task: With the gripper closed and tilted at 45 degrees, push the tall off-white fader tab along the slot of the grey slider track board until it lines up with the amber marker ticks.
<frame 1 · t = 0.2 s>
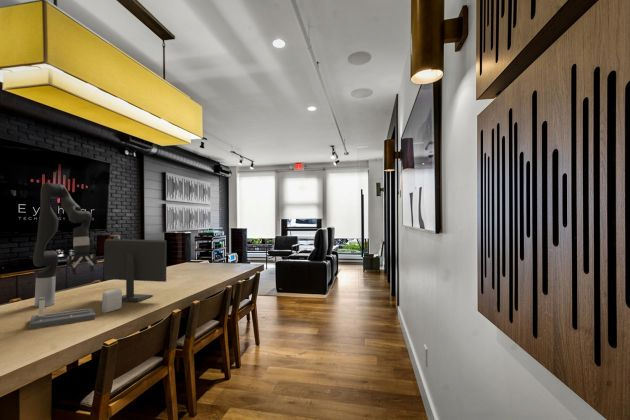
hand: (82, 273, 175), 23 cm above the table, tool pointing down, fingers open, 8 cm apart
photo printer: (111, 310, 181), on the table
fader: (41, 308, 157), point 8 cm above the table, slide at 0.0 cm
computer monitor: (133, 299, 207), on the table
grey slider track board: (63, 319, 163), on the table
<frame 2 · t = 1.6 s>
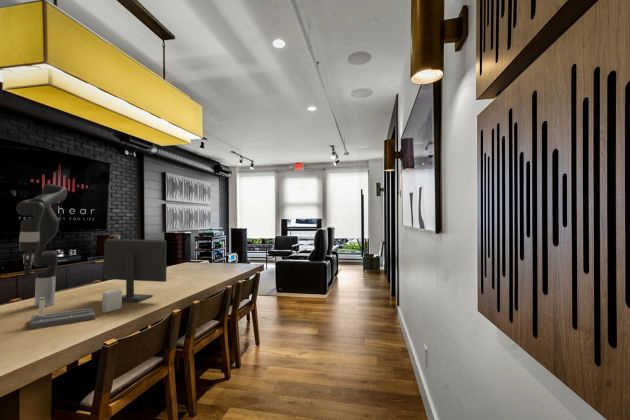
hand: (27, 274, 155), 25 cm above the table, tool pointing down, fingers open, 5 cm apart
nothing on the table moved.
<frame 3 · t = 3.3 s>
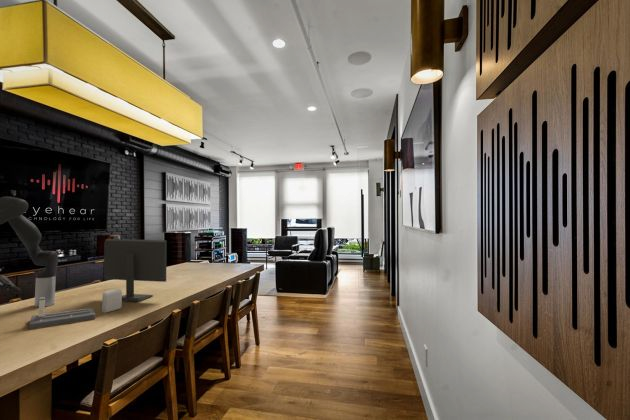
hand: (18, 292, 152), 17 cm above the table, tool tilted 45°, fingers closed
nothing on the table moved.
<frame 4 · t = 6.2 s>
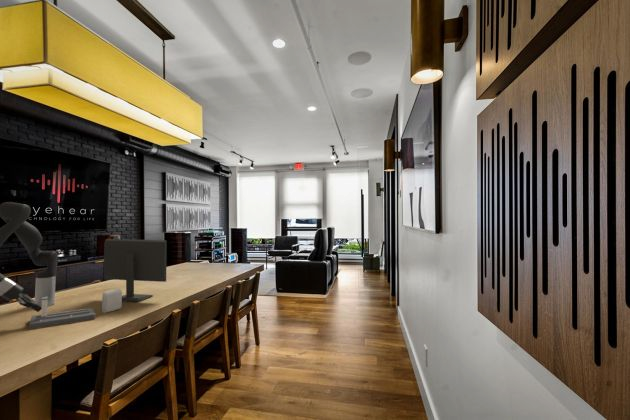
hand: (40, 309, 157), 7 cm above the table, tool tilted 45°, fingers closed
fader: (44, 307, 158), point 8 cm above the table, slide at 1.0 cm, touching gripper
everything else where it was.
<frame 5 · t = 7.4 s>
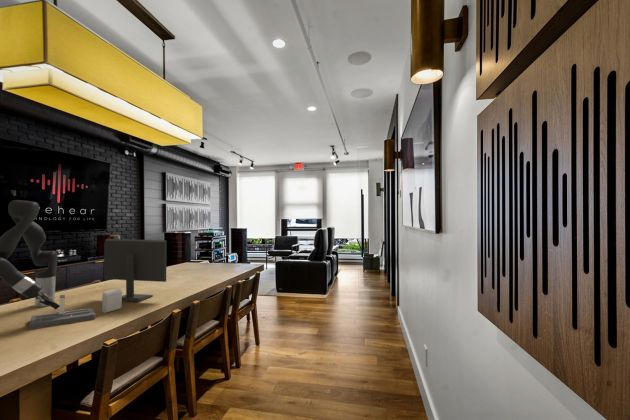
hand: (57, 307, 161), 7 cm above the table, tool tilted 45°, fingers closed
fader: (61, 305, 162), point 8 cm above the table, slide at 8.0 cm, touching gripper
everything else where it was.
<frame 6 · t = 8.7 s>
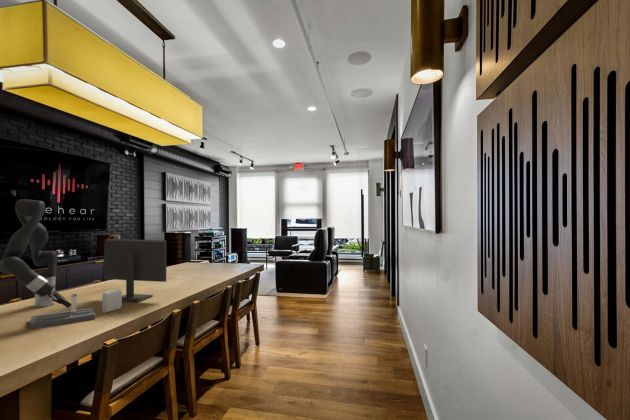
hand: (69, 306, 164), 7 cm above the table, tool tilted 45°, fingers closed
fader: (73, 304, 165), point 8 cm above the table, slide at 12.9 cm, touching gripper
everything else where it was.
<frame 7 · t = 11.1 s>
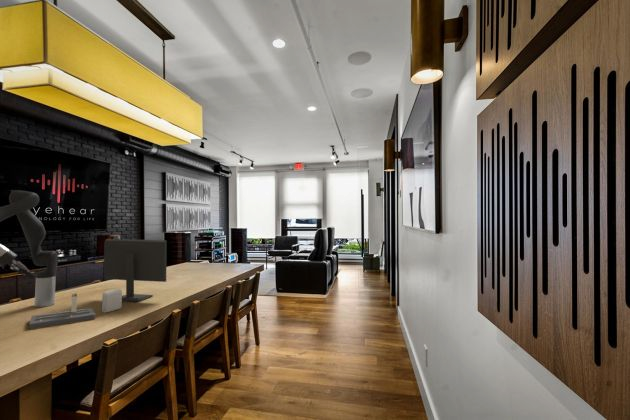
hand: (34, 277, 155), 24 cm above the table, tool tilted 45°, fingers closed
fader: (74, 303, 166), point 8 cm above the table, slide at 13.1 cm
everything else where it was.
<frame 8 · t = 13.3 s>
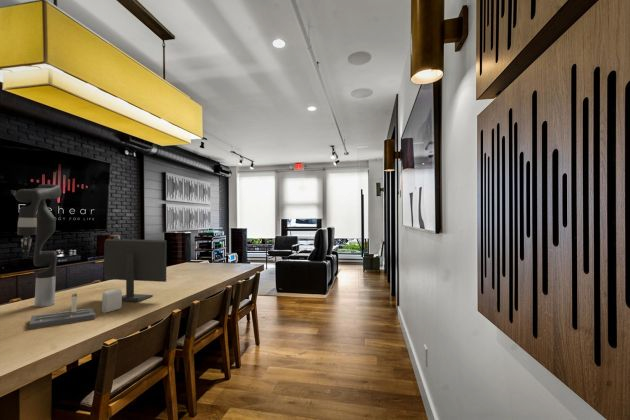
hand: (25, 258, 165), 32 cm above the table, tool pointing down, fingers closed
nothing on the table moved.
at the end: fader slide at 13.1 cm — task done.
